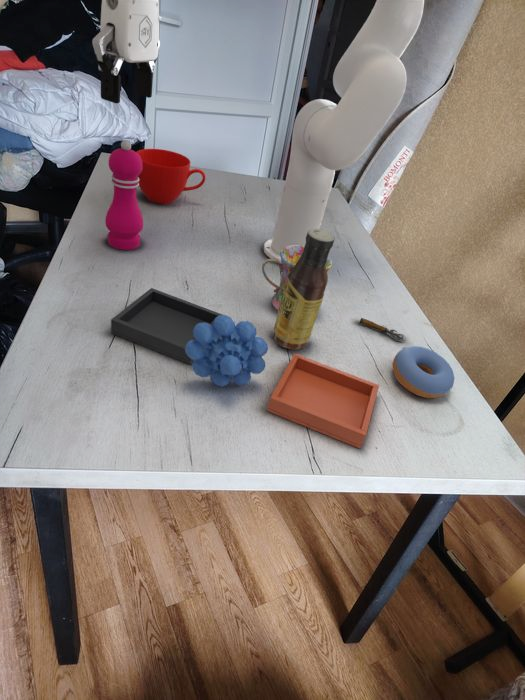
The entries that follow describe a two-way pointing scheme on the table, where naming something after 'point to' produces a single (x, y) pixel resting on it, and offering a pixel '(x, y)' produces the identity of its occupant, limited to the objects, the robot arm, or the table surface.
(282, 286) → the mug
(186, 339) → the charcoal tray
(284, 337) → the sauce bottle
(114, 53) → the robot arm
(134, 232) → the pepper mill
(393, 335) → the can opener
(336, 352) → the table surface
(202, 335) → the blue knobbed flower
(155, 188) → the ceramic cup
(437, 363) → the doughnut
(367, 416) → the terracotta tray
